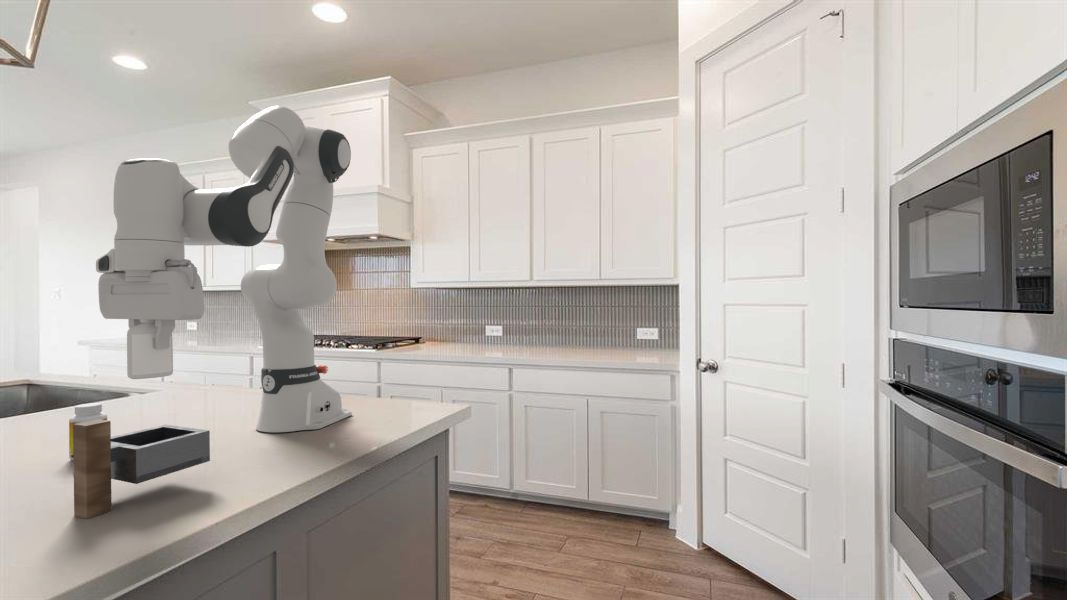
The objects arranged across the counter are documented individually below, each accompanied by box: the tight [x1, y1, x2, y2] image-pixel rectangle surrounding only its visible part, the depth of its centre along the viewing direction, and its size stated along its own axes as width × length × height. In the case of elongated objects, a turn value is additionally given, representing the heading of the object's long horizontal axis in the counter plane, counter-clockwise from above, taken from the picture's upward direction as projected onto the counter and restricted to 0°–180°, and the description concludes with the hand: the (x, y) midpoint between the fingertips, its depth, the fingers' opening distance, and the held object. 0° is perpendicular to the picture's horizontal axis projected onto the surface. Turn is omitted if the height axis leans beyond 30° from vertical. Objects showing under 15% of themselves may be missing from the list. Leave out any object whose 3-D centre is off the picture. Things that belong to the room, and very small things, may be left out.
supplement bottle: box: [68, 402, 108, 462], centre depth 98 cm, size 6×6×10 cm
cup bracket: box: [73, 419, 211, 520], centre depth 78 cm, size 15×11×13 cm
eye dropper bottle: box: [126, 319, 174, 380], centre depth 79 cm, size 4×6×12 cm
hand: (152, 348), depth 80 cm, fingers closed on eye dropper bottle, 3 cm apart
